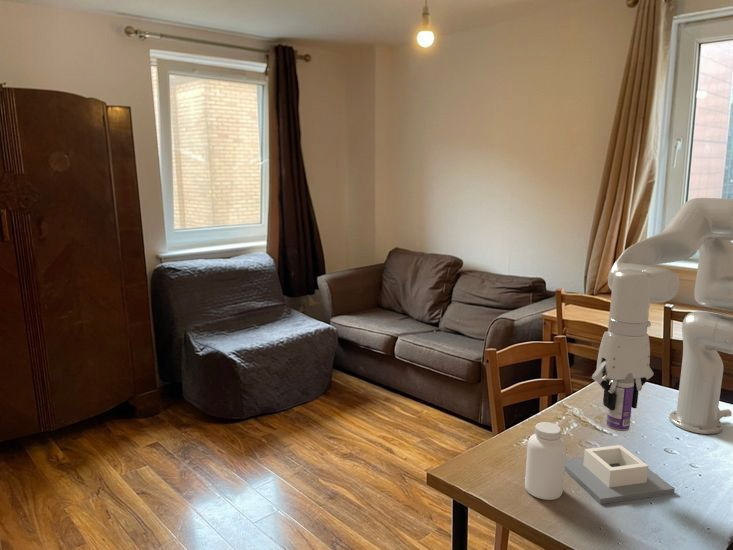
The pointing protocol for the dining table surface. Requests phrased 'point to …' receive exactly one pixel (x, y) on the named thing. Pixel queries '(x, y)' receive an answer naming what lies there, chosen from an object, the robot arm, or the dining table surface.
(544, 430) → the pill bottle
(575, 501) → the dining table surface
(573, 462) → the square socket holder
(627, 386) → the container
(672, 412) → the robot arm
